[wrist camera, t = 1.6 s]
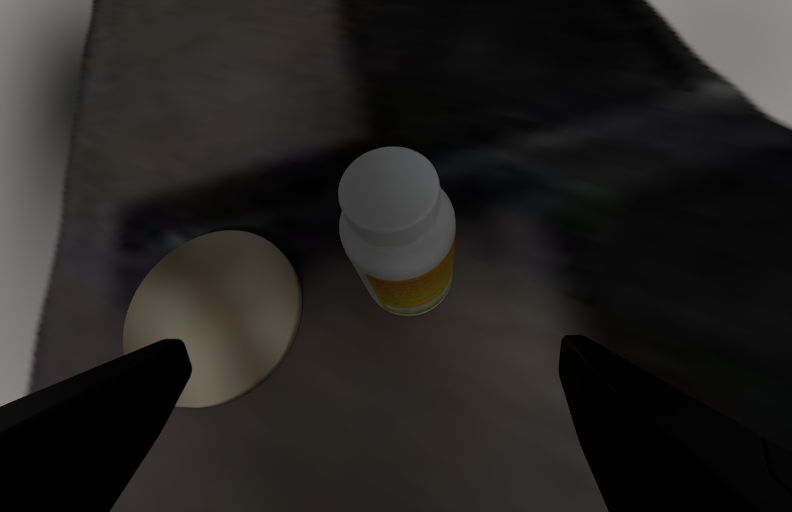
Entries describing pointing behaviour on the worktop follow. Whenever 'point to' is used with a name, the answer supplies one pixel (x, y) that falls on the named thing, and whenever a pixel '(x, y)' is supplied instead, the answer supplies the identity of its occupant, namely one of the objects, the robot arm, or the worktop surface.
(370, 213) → the supplement bottle
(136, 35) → the worktop surface
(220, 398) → the oak coaster
